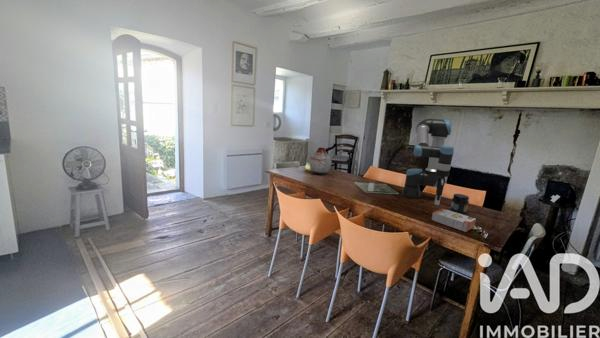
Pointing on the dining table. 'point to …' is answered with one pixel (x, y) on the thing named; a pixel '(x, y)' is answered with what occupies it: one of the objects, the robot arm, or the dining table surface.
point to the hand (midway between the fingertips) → (436, 204)
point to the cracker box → (453, 219)
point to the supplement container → (459, 203)
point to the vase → (320, 162)
